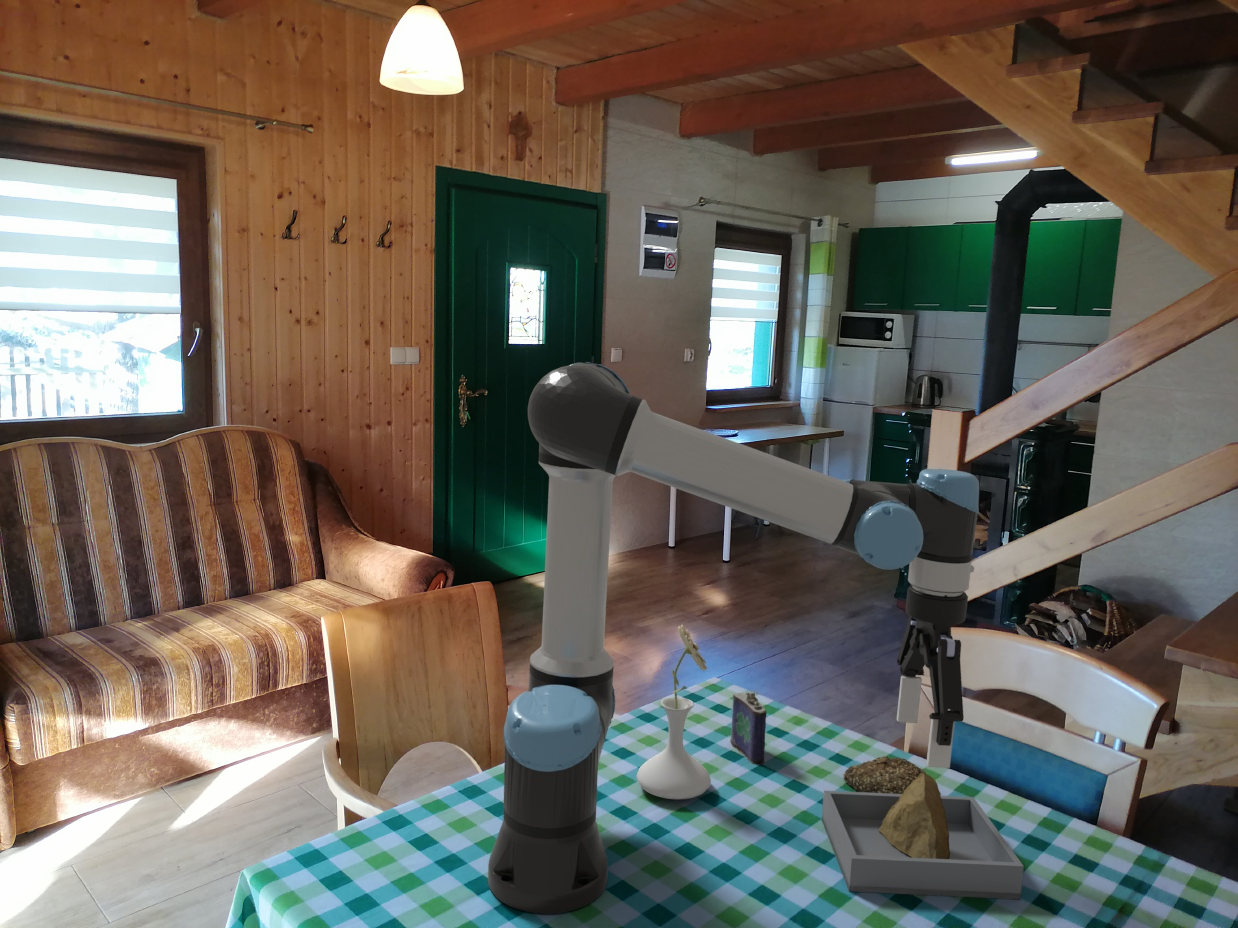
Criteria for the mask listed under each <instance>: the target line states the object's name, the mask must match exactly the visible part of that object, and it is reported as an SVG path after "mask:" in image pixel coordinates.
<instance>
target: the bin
mask: <svg viewBox="0 0 1238 928" xmlns="http://www.w3.org/2000/svg"><path fill="white" fill-rule="evenodd" d="M901 795H902V794H889V793H867V792H859V791H844V790H843V791H842V790H841V791H840V790H823V797H822V810H821V821H822V824H823V827H824V829H825V832H826V835H827V839H828V840H829V843H830V845H831V848H832V850H833V852H834V855H835V858H836V861H837V864H838V865H839V869H840V871H841V874H842V876H843V879H844V882H845V884H846V887H847V890H848V892H851V893H852V892H853V893H855V892H856V893H872V894H873V893H875V894H876V893H877V894H878V893H879V894H898V895H918V896H938V897H939V896H940V897H960V898H961V897H962V898H963V897H964V898H980V899H981V898H985V899H1005V900H1006V899H1007V900H1021V895H1022V887H1023V886H1022V885H1023V878H1024V868H1025V866H1024V865H1023V863H1022V862H1021V860H1020V859H1019V858H1018V856H1017V855H1016V854H1015V852H1014V851H1013V850H1012V848H1011V846H1010V845H1009V844H1008V842H1007V841H1006V839H1004V837H1003V836H1002V834H1001V833H1000V832H999V830H998V829H997V827H996V826H995V824H994V823H993V821H992V820H991V819H990V818H989V817H988V815H987V814H986V812H985V811H984V810H983V808H982V807H981V805H980V804H979V803H978V801H977V800H976V799H975V797H973V796H955V795H954V796H953V795H951V796H950V795H940V796H941V800H942V804H943V806H944V809H945V813H946V819H947V827H948V831H949V849H950V858H949V859H930V858H912V857H911V856H909V855H907V854H905V853H903V852H902V851H900V850H898V849H897V848H896V847H894V846H893V845H891V844H890V842H889V841H888V840H887V838H886V837H885V836H884V835H883V834H882V833H880V832H879V829H880V827H881V826H882V822H883V820H884V818H885V817H886V815H887V813H888V811H889V810H890V809H891V807H892V806H893V805H895V804H896V802H897V801H898V800H899V798H900V796H901Z"/></svg>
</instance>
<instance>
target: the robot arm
mask: <svg viewBox="0 0 1238 928" xmlns="http://www.w3.org/2000/svg"><path fill="white" fill-rule="evenodd" d="M650 408H651V407H649V404H648V402H647V400H645V399H644V398H640V397H637V396H634V395H631V393H630V391H629V389H628V387H627V385H626V383H625V381H624V380H623V379H622V377H621V376H619V374H617V372H615V371H613V370H612V369H610V368H609V367H607V366H605V365H602V364H601V363H600V364H598V363H593V362H592V363H591V362H588V361H586V362H576V363H572V364H569V365H565V366H561V367H559V368H556V369H553V370H551V371H549V372H548V373H547V374H546V375H544V376H543V377H542V378H541V379H540V380H539V381H538V382H537V384H536V385H535V387H534V388H533V389H532V392H531V393H530V397H529V400H528V405H527V420H528V424H529V427H530V430H531V433H532V435H533V437H534V438H535V440H536V441H537V442H538V444H539V445H538V448H539V449H538V464H539V465H540V467H542V469H543V470H544V471H545V472H546V474H547V475H548V477H549V478H548V495H547V496H548V498H547V502H548V503H547V518H546V519H547V521H546V522H547V523H546V540H545V541H546V543H545V561H544V562H545V563H544V564H545V565H544V587H543V604H542V605H543V607H542V609H543V610H542V628H541V630H542V631H541V645H540V647H539V648H537V649H536V650H535V651H534V652H532V653H531V655H530V657H529V672H528V691H527V690H526V691H525V690H524V692H521V693H520V694H519V695H517V696H516V697H515V698H514V699H513V700H512V701H511V703H510V705H509V706H508V708H507V713H506V716H505V717H506V718H505V722H504V726H503V741H504V766H503V768H504V771H503V772H504V773H503V774H504V776H503V778H504V779H503V819H502V823H501V827H500V829H499V832H498V834H497V837H496V839H495V842H494V845H493V848H492V851H491V853H490V856H489V859H488V868H487V883H488V888H489V889H490V891H491V893H492V894H493V895H494V896H495V897H496V898H497V899H498V900H499V901H501V902H502V903H504V904H505V905H507V906H508V907H511V908H514V909H516V910H519V911H523V912H526V913H533V914H545V915H546V914H561V913H568V912H572V911H575V910H578V909H581V908H584V907H585V906H588V905H590V904H591V903H593V902H594V901H595V900H597V899H598V898H599V897H600V896H601V895H602V893H604V891H605V889H606V887H607V884H608V876H609V875H608V873H609V864H608V863H609V862H608V856H607V853H606V850H605V847H604V844H603V841H602V837H601V833H600V830H599V827H598V823H597V804H598V802H597V798H598V776H599V775H598V774H599V766H600V765H599V763H600V759H601V755H602V752H603V747H604V744H605V741H606V737H607V734H608V731H609V727H610V726H611V723H612V719H613V718H614V714H615V710H616V695H615V688H614V684H613V683H614V682H613V680H614V666H615V664H614V659H613V657H612V656H611V655H610V653H608V651H606V649H605V629H606V616H607V615H606V613H607V594H608V579H609V578H608V575H609V560H610V559H609V557H610V539H611V521H612V507H613V506H612V505H613V504H612V503H613V485H614V480H615V478H616V477H619V476H622V475H624V474H626V473H634V474H636V475H639V476H640V477H644V478H647V479H650V480H653V481H654V482H659V483H661V484H663V485H666V486H669V487H671V488H674V489H678V490H680V491H683V492H686V493H688V494H691V495H694V496H697V497H700V498H703V499H705V500H709V501H710V502H713V503H717V504H719V505H723V507H724V506H725V507H727V508H730V509H733V510H736V511H738V512H741V513H744V514H747V515H750V516H753V517H755V518H758V519H760V520H764V521H766V522H769V523H772V524H774V525H777V526H780V527H783V528H786V529H789V530H791V531H794V532H796V533H800V534H803V535H805V536H807V537H811V538H813V539H816V540H819V541H822V542H825V543H828V544H830V545H832V546H835V547H836V548H839V549H842V550H844V551H848V552H849V553H853V554H855V555H858V556H859V557H860V558H861V559H862V560H864V561H865V562H866V563H868V564H870V565H872V566H873V567H876V568H877V569H881V570H887V571H888V570H889V571H890V570H897V569H902V568H904V567H905V566H906V567H907V565H909V566H908V577H907V581H908V583H909V584H910V585H909V586H908V588H907V593H906V600H905V601H906V603H905V613H906V614H907V615H908V619H907V625H906V628H905V631H904V635H903V638H902V641H901V644H900V647H899V648H900V649H899V651H898V655H897V658H896V664H897V666H900V667H899V673H900V684H899V691H898V692H899V693H898V701H897V702H898V703H897V712H896V721H897V722H898V723H906V724H918V719H919V709H920V702H921V701H920V700H921V692H922V691H921V690H922V683H923V682H922V681H923V678H922V677H921V676H925V671H924V670H925V668H924V667H926V668H927V669H928V672H929V677H930V679H929V680H930V686H931V694H932V703H933V709H934V710H933V711H934V712H931V713H930V714H929V716H928V717H929V719H930V727H929V728H930V729H929V735H928V745H927V746H928V747H927V755H926V762H925V763H926V766H927V767H929V768H940V769H941V768H942V769H950V768H951V759H952V750H953V741H954V740H953V739H954V733H955V732H954V731H955V723H956V722H961V723H962V722H964V716H965V715H964V704H963V686H962V685H963V684H962V682H963V681H962V669H961V666H962V665H961V655H962V654H961V652H962V642H961V640H960V639H953V635H952V627H953V626H955V625H960V624H962V623H964V622H965V621H966V620H967V619H966V617H967V610H968V601H969V595H967V593H966V591H968V590H969V588H970V580H971V573H973V572H974V571H975V567H974V565H972V562H973V561H972V560H973V559H972V558H973V551H974V544H975V537H976V529H977V528H976V527H977V523H978V515H979V513H980V512H979V510H980V509H979V501H980V499H979V498H980V481H979V480H978V478H977V476H975V475H973V474H972V473H969V472H966V471H960V470H956V469H955V470H953V469H945V468H925V469H923V470H921V471H920V472H919V473H918V474H919V476H918V479H917V480H916V483H896V482H895V483H893V482H882V481H871V480H870V481H869V480H860V479H854V478H848V479H839V478H836V477H833V476H832V475H831V476H830V475H828V474H825V473H822V472H819V471H816V470H814V469H810V468H808V467H806V466H803V465H800V464H797V463H794V462H792V461H789V460H787V459H784V458H780V457H778V456H775V455H773V454H769V453H767V452H764V451H761V450H759V449H756V448H753V447H750V446H749V445H745V444H743V443H739V442H737V441H733V440H731V439H728V438H725V437H724V436H723V437H722V436H719V435H717V434H714V433H711V432H708V431H706V430H704V429H700V428H698V427H695V426H692V425H690V424H687V423H684V422H681V421H678V420H675V419H672V418H670V417H667V416H664V415H662V414H658V412H657V413H656V412H654V411H653V410H651V409H650Z"/></svg>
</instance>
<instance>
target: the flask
mask: <svg viewBox="0 0 1238 928" xmlns="http://www.w3.org/2000/svg"><path fill="white" fill-rule="evenodd" d="M758 694H759V693H758V691H755V690H754V691H749V692H748V691H745V693H743V692H735V693H733V695H732V698H733V699H732V714H731V715H732V717H731V720H732V721H731V729H730V730H731V731H730V744H731V745H732V747H733V748H735V749H736V750H737V752H739V753H740V754H742V755H744V757H745V758H747V760H748V761H749V763H751V764H754V765H764V764H765V751H766V750H765V749H766V728H767V727H766V725H767V720H766V719H767V710H766V709H765V708H764V706H763V705H762V704H761V703H760V702H759V699H758V698H757V697H756V695H758Z"/></svg>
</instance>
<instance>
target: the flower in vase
mask: <svg viewBox="0 0 1238 928" xmlns="http://www.w3.org/2000/svg"><path fill="white" fill-rule="evenodd" d="M677 630H678V633H679V636H680V638H681V641H682V643H683V644H684V651H683V652H682V654H681V657H680V658H679V660H678V662H677V664H676V667H675V669H672V670H671V674H672V678H673V689H674V690H673V691H672V692H671V694H674V696H669V697H665V698H663V699H662V700H661V701H660V705H661V706H662V708H663V709H664V711H665V714H666V717H667V724H668V738H667V744H666V746H665V748H664V749H663V750H662V751H661V752H659V753H657V754H656V755H654V756H652V757H651V758H649V759H647V760H646V761H645V762H644V763H643V764H642V765H641V766H640V767H639V769H638V770H637V773H636V781H637V784H639V785H640V787H641V789H643V790H645V792H647V793H649V794H651V795H653V796H656V797H658V798H663V799H668V800H688V799H692V798H696V797H699V796H701V795H703V794H704V793H705V792H707V790H708V789H709V788H710V786H711V784H712V780H711V776H710V773H709V772H708V770H707V769H706V768H705V767H704V766H703V764H702V763H700V761H698V760H697V759H696V758H695V757H693V756H692V755H690V754H689V753H688V752H687V750H686V749H685V747H684V729H685V725H686V720H687V717H688V714H689V713H690V711H691V710H692V709H693V708H694V706H695V704H694V701H692V700H691V699H688V698H687V697H686V698H685V697H681V696H678V694H677V693H678V692H680V691H683V690H687V689H688V687H687V686H685V685H683V686H682V688H679V689H677V686H678V687H679V686H680V683H679V680H678V678H677V672H678V670H679V667H680V665H681V663H682V661H683V659H684V657H685V656H686V654H687V655H690V657H691V658H692V660H693V661H694V662H695V664H696V665H697V666H698V668H699V669H700V670H701V671H703V672H704V671H707V669H708V667H707V665H706V664H707V662H706V660H705V658H704V657H703V656H702V655H701V653H700V652H699V650H700V647H699V646H698V645H697V643H695V642H693V638H692V637H691V634H690V632H689V630H688V629H686V628H685V627H684V625H683V624H681V625H679V626H678V627H677Z"/></svg>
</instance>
